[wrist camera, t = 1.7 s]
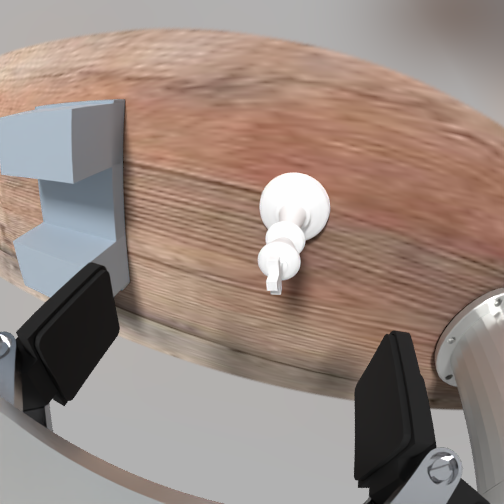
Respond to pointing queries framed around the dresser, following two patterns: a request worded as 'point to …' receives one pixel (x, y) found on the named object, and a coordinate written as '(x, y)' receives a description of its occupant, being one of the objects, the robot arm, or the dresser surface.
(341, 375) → the dresser surface
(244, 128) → the dresser surface
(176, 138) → the dresser surface
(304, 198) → the chess piece
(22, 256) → the slot block
